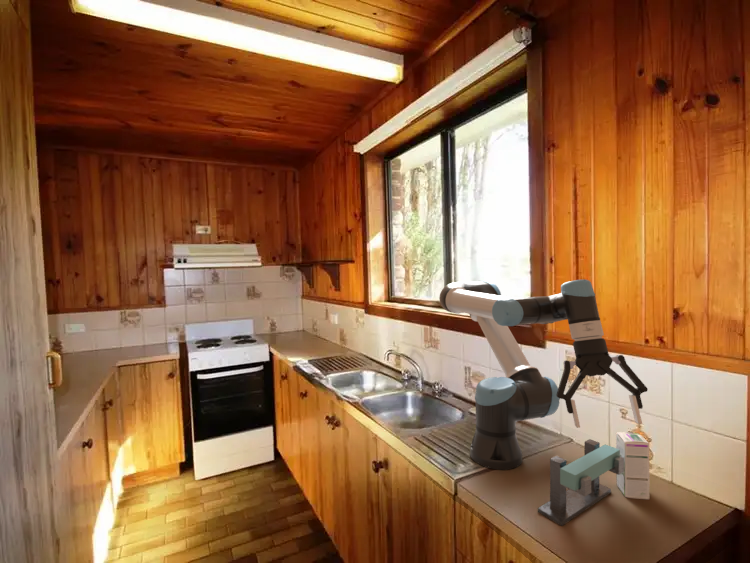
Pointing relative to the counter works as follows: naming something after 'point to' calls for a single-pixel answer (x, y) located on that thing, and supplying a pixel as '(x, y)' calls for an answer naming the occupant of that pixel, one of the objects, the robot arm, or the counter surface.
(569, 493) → the rack
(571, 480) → the block
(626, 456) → the syrup box
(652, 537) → the counter surface
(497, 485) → the counter surface
